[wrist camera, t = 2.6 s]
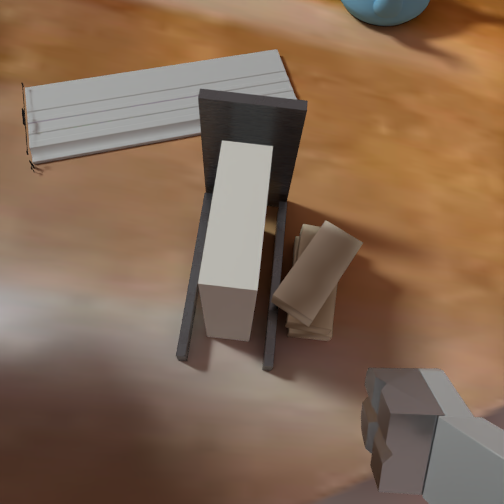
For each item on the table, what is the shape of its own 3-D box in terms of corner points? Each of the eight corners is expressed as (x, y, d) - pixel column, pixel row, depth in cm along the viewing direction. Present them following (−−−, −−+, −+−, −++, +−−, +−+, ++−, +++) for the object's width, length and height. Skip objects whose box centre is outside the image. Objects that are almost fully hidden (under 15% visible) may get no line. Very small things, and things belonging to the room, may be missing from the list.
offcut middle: (285, 327, 42) (287, 321, 40) (300, 232, 46) (303, 223, 45) (327, 335, 42) (332, 329, 40) (338, 240, 46) (343, 231, 44)
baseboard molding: (303, 129, 55) (275, 59, 60) (307, 112, 52) (277, 40, 57) (36, 178, 50) (29, 97, 55) (25, 162, 48) (19, 78, 52)
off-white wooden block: (207, 336, 43) (198, 283, 30) (223, 225, 48) (222, 140, 35) (249, 341, 43) (257, 290, 30) (261, 229, 48) (273, 146, 35)
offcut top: (270, 301, 41) (273, 294, 39) (321, 230, 44) (325, 220, 43) (308, 326, 40) (312, 320, 38) (357, 251, 44) (363, 242, 42)
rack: (178, 360, 42) (154, 310, 28) (207, 190, 50) (200, 88, 36) (271, 370, 42) (291, 326, 28) (286, 199, 50) (307, 100, 36)
